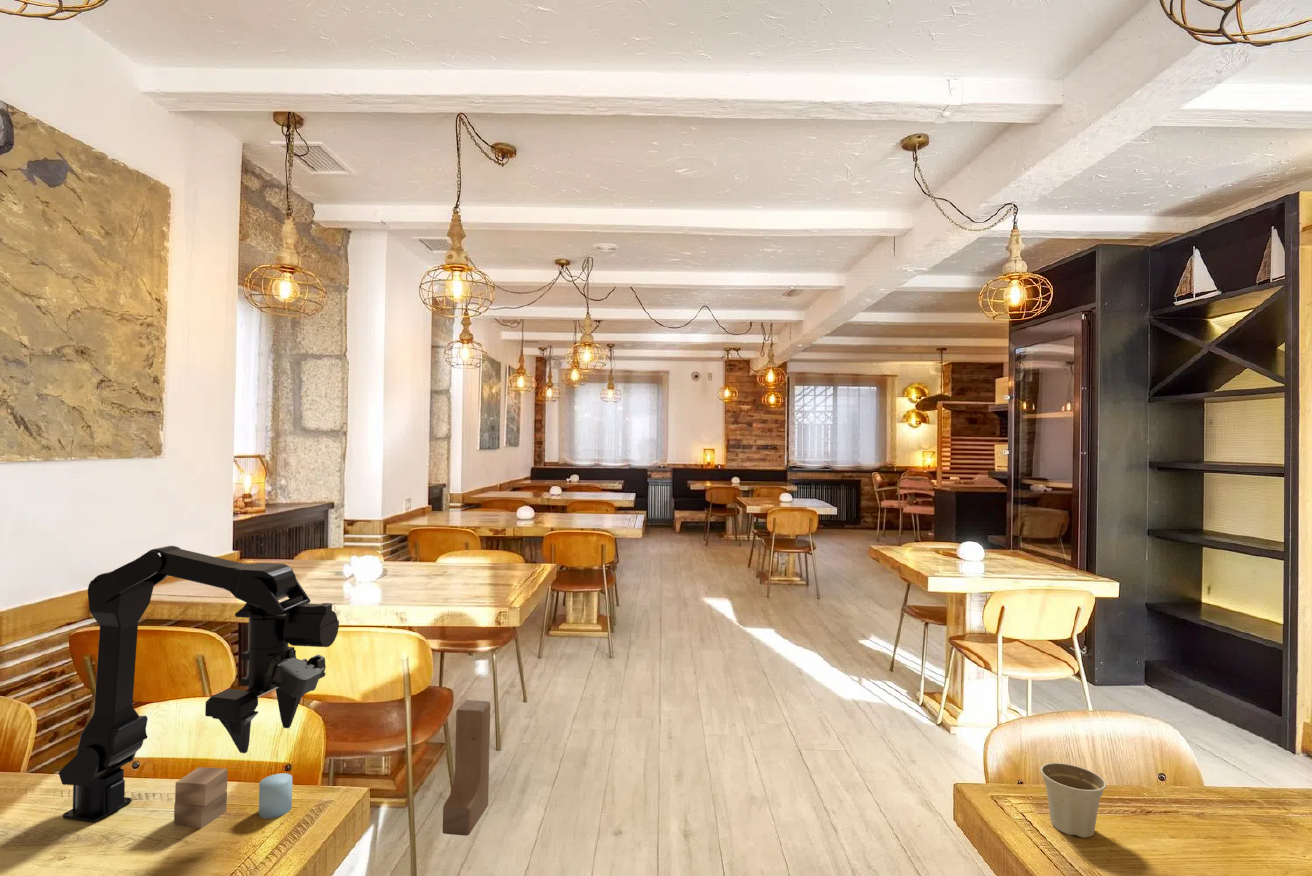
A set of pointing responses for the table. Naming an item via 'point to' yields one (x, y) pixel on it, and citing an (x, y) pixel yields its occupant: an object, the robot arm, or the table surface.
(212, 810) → the lower block
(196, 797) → the upper block
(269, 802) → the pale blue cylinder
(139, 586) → the robot arm
